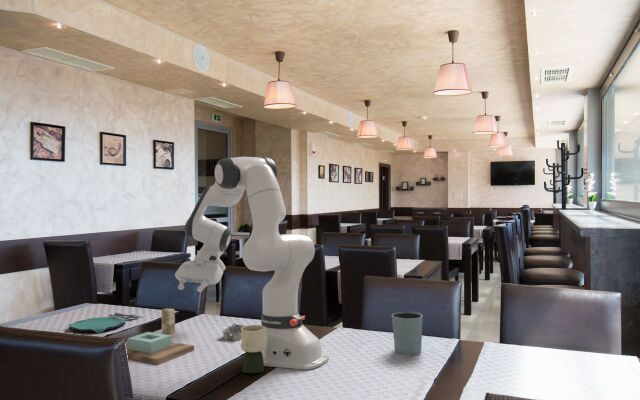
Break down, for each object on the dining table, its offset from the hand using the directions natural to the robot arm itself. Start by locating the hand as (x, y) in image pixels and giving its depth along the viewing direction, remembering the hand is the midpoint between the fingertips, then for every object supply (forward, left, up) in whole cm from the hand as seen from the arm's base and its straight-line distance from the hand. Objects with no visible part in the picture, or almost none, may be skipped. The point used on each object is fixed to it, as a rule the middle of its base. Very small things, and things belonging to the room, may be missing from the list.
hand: (189, 290), depth 200 cm
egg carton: (-22, 0, -16) cm, 27 cm away
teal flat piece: (+35, +9, -16) cm, 40 cm away
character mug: (-50, +29, -15) cm, 60 cm away
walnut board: (-8, +28, -15) cm, 33 cm away
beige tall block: (0, +11, -15) cm, 19 cm away
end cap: (-8, +28, -14) cm, 33 cm away
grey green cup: (-84, -10, -15) cm, 86 cm away
